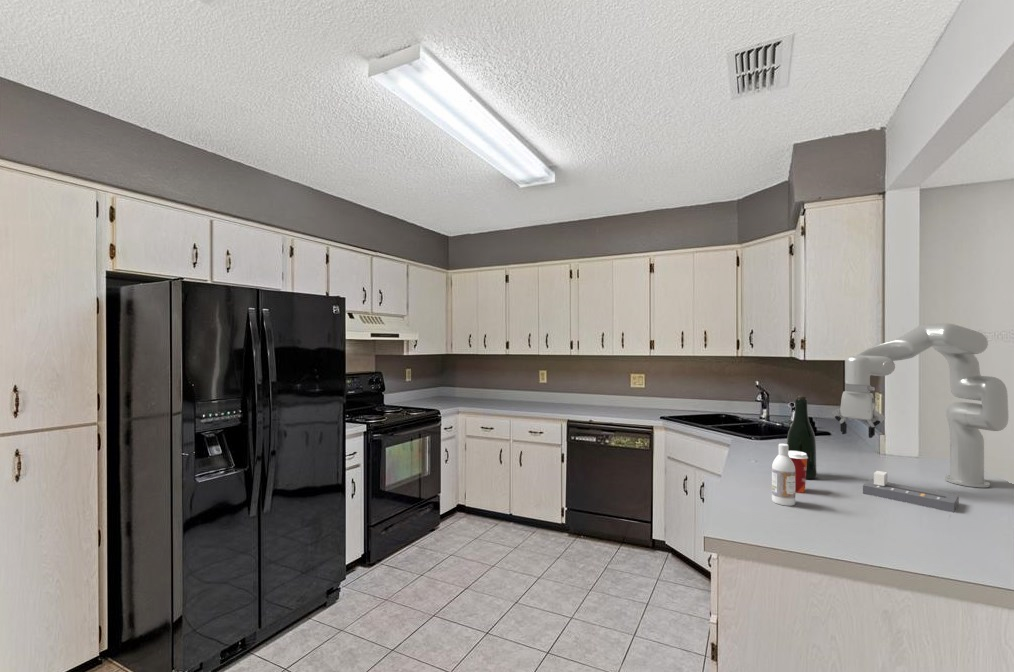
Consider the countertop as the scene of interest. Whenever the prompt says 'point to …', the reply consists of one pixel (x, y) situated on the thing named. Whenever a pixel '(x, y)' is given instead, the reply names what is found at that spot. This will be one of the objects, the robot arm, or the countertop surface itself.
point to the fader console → (913, 495)
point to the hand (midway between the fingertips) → (857, 435)
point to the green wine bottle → (803, 436)
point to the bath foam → (783, 478)
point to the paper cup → (799, 469)
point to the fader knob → (880, 478)
